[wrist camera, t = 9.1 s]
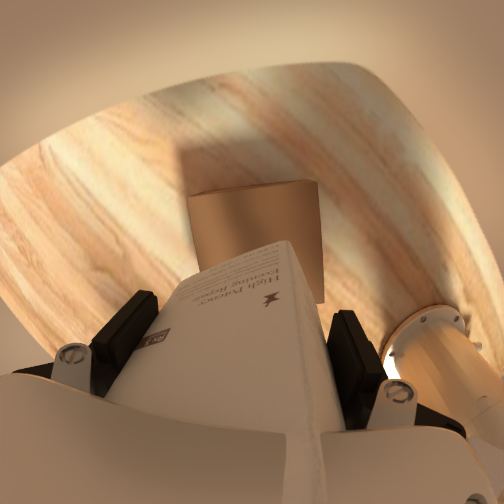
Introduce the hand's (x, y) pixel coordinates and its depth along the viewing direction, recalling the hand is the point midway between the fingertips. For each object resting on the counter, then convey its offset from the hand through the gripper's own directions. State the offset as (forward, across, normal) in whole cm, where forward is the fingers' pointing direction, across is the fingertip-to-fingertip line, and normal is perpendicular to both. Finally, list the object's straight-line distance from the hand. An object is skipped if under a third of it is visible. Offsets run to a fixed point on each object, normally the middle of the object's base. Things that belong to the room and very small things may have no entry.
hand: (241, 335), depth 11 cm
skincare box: (+3, 0, 0) cm, 3 cm away
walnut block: (+17, 0, 0) cm, 17 cm away
